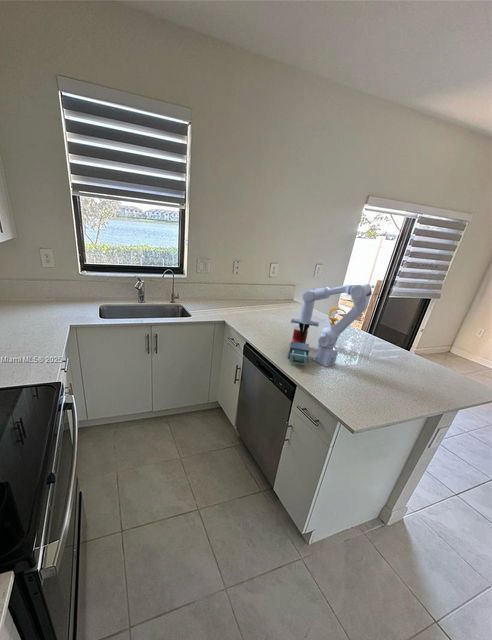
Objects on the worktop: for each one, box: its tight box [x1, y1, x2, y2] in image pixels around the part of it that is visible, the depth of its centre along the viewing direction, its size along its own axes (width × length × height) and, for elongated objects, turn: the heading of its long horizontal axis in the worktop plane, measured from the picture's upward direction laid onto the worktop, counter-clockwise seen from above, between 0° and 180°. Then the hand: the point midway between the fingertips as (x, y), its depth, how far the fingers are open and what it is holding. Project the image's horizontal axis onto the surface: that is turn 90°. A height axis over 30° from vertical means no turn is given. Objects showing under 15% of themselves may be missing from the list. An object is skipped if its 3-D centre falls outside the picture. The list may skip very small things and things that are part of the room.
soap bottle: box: [320, 306, 341, 350], centre depth 169 cm, size 9×9×25 cm
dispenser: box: [287, 340, 310, 360], centre depth 156 cm, size 10×10×7 cm
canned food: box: [291, 325, 309, 344], centre depth 170 cm, size 8×8×11 cm
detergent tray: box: [288, 349, 309, 366], centre depth 148 cm, size 13×8×5 cm, turn 165°
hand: (301, 336), depth 159 cm, fingers closed
